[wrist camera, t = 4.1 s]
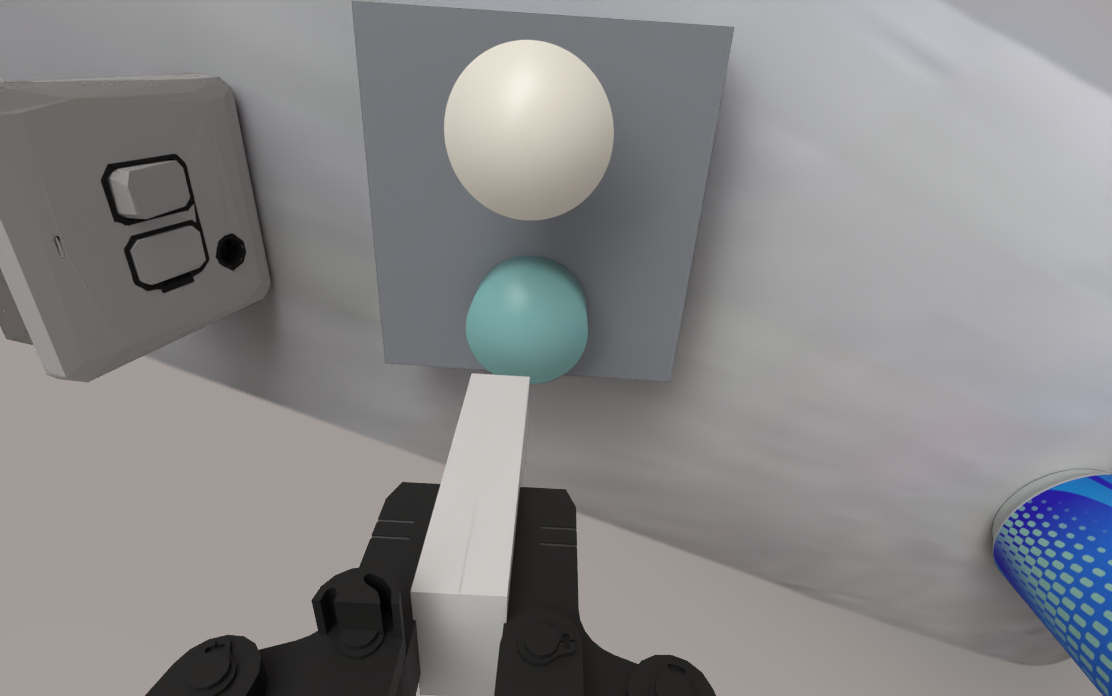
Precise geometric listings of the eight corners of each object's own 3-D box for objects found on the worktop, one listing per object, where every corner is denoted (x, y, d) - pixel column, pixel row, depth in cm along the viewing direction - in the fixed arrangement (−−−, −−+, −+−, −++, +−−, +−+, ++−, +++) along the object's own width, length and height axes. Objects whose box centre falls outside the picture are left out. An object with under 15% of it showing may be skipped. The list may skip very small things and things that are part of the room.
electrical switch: (277, 293, 27) (120, 397, 19) (175, 283, 27) (-22, 380, 19) (235, 74, 22) (5, 83, 14) (115, 66, 23) (-176, 71, 15)
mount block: (388, 9, 21) (351, 1, 18) (707, 31, 21) (734, 26, 18) (409, 322, 27) (385, 363, 24) (657, 339, 27) (670, 381, 24)
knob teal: (486, 226, 24) (464, 270, 19) (588, 232, 24) (593, 278, 19) (486, 319, 26) (466, 380, 21) (580, 325, 26) (582, 388, 21)
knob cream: (475, 38, 18) (440, 33, 14) (609, 47, 18) (623, 46, 14) (476, 176, 20) (446, 215, 16) (597, 184, 20) (604, 225, 16)
